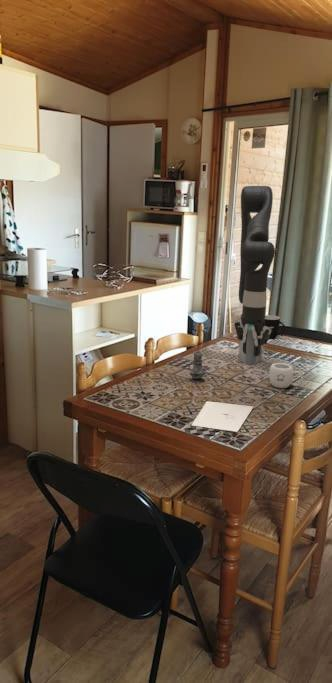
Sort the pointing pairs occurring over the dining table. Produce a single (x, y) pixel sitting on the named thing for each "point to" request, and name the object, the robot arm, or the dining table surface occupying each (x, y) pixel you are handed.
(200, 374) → the weathered grey finial
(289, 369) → the mug
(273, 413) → the dining table surface
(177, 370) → the dining table surface
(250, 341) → the marker
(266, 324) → the mug
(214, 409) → the paper sheet
